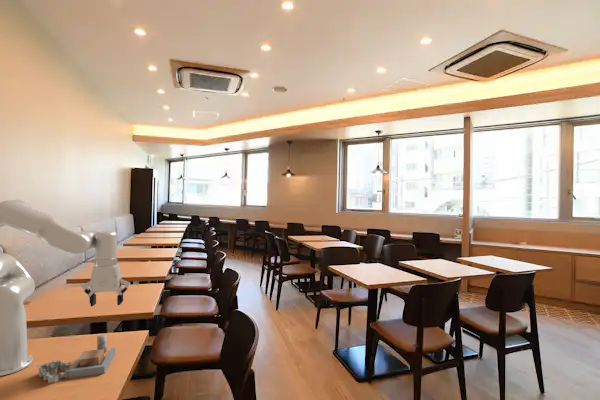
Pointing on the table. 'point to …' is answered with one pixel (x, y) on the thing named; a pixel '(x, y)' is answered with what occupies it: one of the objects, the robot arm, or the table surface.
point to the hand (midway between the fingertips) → (106, 304)
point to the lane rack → (91, 370)
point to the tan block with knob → (95, 353)
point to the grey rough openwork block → (54, 370)
